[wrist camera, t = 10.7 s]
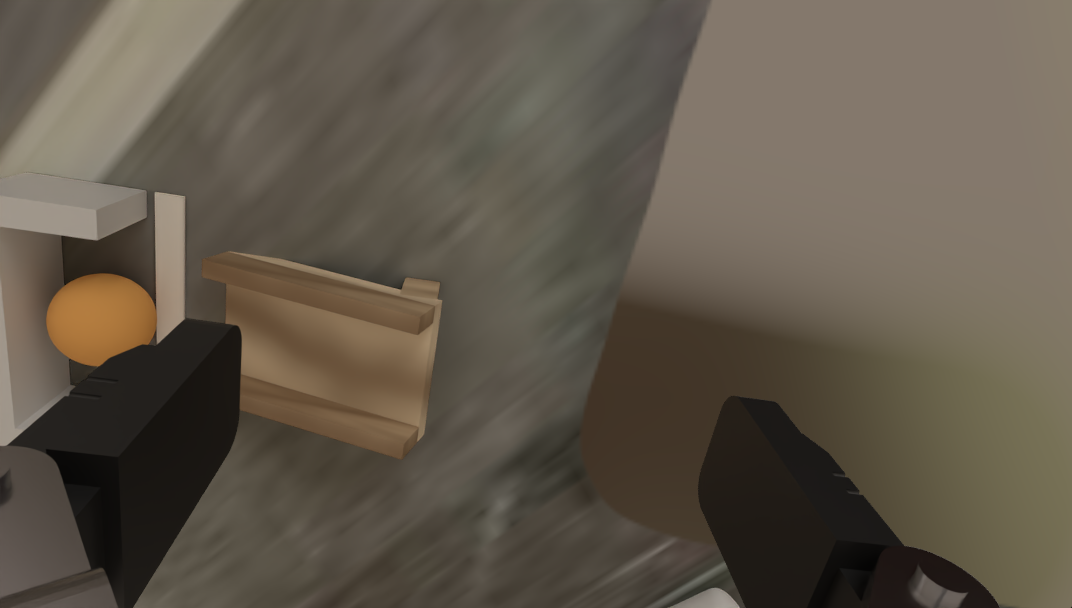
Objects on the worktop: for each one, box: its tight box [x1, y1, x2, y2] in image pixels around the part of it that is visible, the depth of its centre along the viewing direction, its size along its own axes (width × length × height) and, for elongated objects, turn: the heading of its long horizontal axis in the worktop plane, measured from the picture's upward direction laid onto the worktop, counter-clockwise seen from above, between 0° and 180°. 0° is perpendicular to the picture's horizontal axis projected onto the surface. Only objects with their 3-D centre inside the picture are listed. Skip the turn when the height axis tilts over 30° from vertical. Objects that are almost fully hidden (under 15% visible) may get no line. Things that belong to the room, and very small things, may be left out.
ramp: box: [202, 251, 442, 460], centre depth 37 cm, size 8×13×7 cm, turn 80°
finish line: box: [155, 192, 185, 344], centre depth 38 cm, size 14×2×1 cm, turn 170°
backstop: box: [0, 172, 147, 446], centre depth 36 cm, size 14×6×5 cm, turn 170°
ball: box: [46, 273, 157, 366], centre depth 36 cm, size 5×5×5 cm
